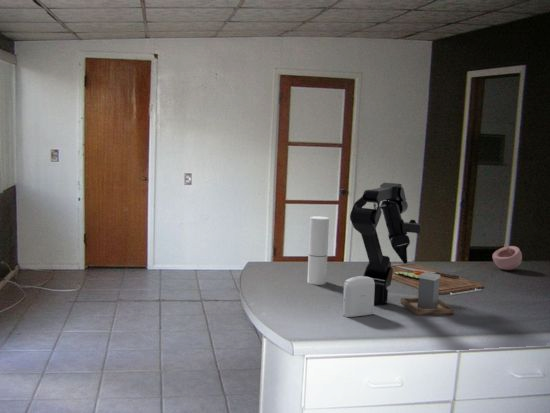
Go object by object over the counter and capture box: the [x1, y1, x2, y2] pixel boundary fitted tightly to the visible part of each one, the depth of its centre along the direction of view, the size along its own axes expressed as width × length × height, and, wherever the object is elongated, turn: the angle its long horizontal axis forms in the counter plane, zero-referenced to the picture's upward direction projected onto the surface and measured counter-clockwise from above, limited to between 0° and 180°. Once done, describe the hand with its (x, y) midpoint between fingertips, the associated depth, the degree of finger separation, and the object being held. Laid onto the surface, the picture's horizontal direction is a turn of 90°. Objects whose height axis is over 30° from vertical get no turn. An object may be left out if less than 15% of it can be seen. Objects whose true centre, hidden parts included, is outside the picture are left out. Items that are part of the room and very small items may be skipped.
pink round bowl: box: [492, 244, 523, 271], centre depth 245 cm, size 12×12×11 cm
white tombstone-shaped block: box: [342, 275, 375, 318], centre depth 175 cm, size 10×4×12 cm, turn 114°
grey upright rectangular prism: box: [417, 272, 440, 309], centre depth 183 cm, size 5×5×11 cm
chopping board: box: [391, 263, 483, 296], centre depth 225 cm, size 45×27×3 cm, turn 30°
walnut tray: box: [400, 297, 455, 316], centre depth 184 cm, size 13×13×2 cm
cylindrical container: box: [306, 215, 330, 286], centre depth 212 cm, size 7×7×25 cm
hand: (404, 261), depth 195 cm, fingers open, 9 cm apart
